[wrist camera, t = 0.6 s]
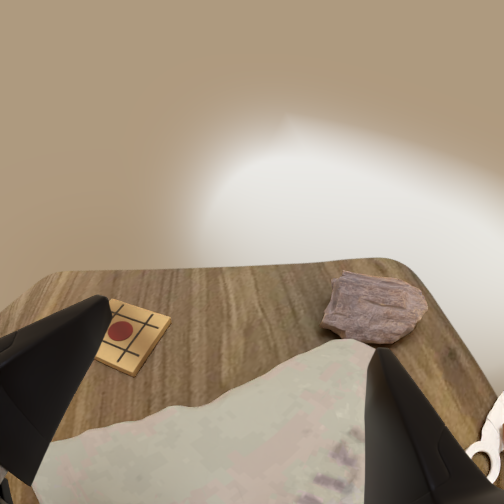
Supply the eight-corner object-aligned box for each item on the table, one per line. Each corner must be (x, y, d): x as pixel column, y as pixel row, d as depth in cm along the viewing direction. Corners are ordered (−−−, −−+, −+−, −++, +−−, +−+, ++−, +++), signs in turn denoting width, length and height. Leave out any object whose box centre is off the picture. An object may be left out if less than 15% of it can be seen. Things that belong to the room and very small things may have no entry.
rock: (316, 338, 31) (325, 305, 28) (328, 282, 39) (335, 251, 36) (418, 358, 28) (436, 327, 25) (411, 300, 36) (423, 270, 33)
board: (134, 377, 25) (132, 372, 25) (74, 349, 27) (71, 343, 26) (171, 322, 32) (170, 316, 31) (113, 303, 33) (112, 297, 33)
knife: (525, 406, 19) (530, 403, 19) (370, 631, 5) (374, 632, 4) (495, 380, 23) (499, 376, 23) (320, 598, 9) (323, 600, 8)
